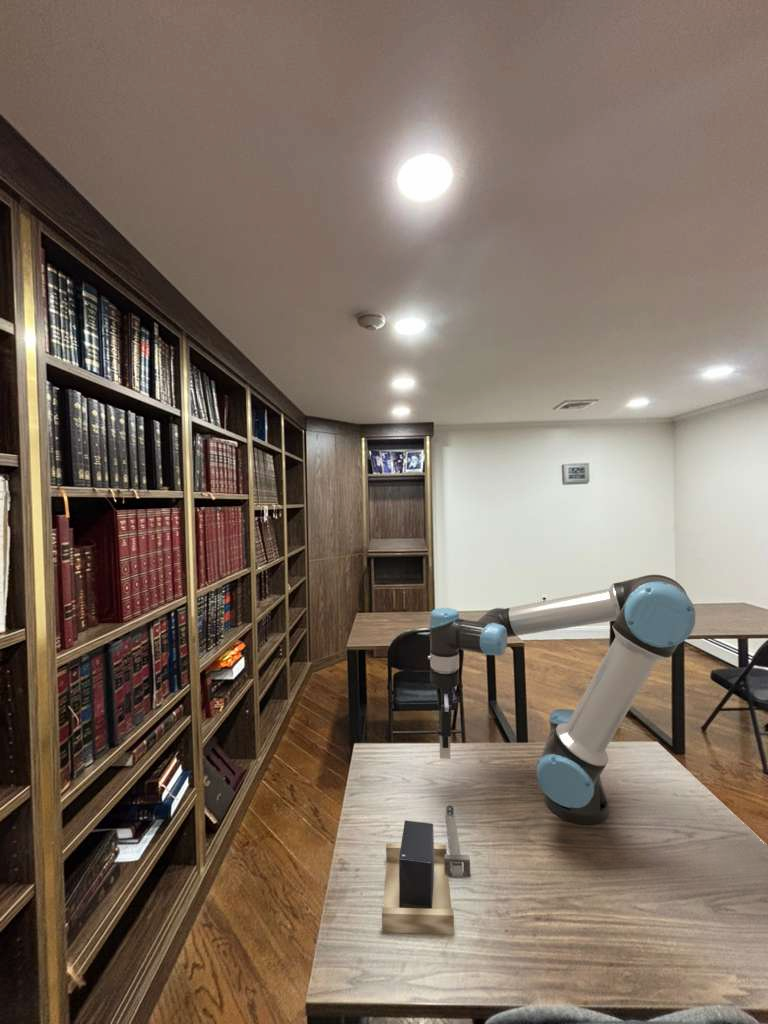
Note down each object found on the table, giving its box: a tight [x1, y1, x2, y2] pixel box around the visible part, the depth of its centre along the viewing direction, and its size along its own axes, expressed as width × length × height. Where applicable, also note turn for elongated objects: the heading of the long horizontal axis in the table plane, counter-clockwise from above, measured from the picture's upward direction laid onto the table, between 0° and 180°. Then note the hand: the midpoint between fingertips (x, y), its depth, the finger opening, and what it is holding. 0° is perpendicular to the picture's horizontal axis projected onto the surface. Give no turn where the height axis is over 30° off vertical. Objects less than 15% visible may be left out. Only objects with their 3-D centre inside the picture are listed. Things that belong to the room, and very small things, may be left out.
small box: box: [399, 820, 435, 909], centre depth 88 cm, size 11×6×10 cm, turn 171°
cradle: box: [381, 843, 471, 935], centre depth 88 cm, size 18×16×4 cm
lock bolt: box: [444, 804, 464, 878], centre depth 100 cm, size 2×18×3 cm, turn 177°
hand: (445, 756), depth 116 cm, fingers closed
